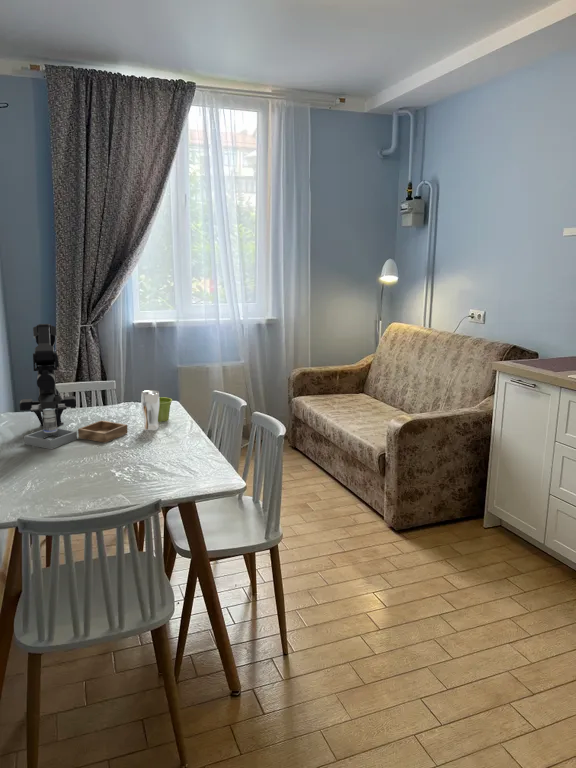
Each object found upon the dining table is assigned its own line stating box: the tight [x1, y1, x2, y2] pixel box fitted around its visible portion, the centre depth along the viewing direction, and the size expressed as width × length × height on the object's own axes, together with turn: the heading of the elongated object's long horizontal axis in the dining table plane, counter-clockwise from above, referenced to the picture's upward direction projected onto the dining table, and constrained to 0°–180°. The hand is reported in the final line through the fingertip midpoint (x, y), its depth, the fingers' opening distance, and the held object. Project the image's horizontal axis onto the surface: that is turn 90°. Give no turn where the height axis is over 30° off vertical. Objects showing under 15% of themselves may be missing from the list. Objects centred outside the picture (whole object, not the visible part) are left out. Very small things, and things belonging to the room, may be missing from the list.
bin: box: [23, 427, 78, 450], centre depth 213 cm, size 13×13×3 cm
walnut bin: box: [77, 419, 128, 444], centre depth 221 cm, size 13×13×4 cm
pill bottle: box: [42, 409, 58, 433], centre depth 211 cm, size 5×5×8 cm
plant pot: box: [158, 396, 173, 423], centre depth 241 cm, size 9×9×9 cm
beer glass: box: [140, 390, 160, 432], centre depth 228 cm, size 7×7×15 cm
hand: (50, 425), depth 212 cm, fingers closed on pill bottle, 5 cm apart
